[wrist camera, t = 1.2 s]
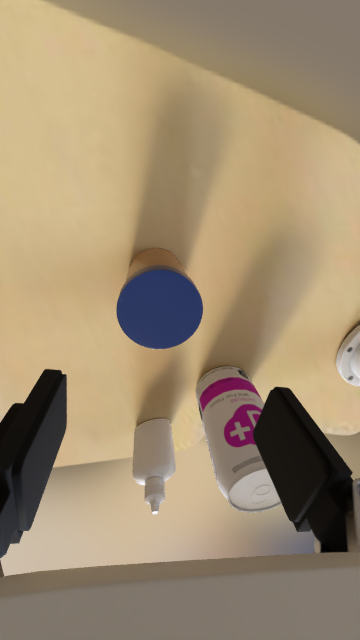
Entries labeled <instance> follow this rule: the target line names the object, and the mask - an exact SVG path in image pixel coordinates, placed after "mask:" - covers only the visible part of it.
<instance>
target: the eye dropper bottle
mask: <svg viewBox="0 0 360 640" xmlns="http://www.w3.org/2000/svg"><path fill="white" fill-rule="evenodd" d="M174 473H175V455H174V445H173V436H172V427H171V424H170V422H169V420H168V419H164V418H161V419H153V420H149V421H146V422H144V423H142V424H140V425H138V426H137V427H136V428H135V432H134V450H133V477H134V479H135V481H136V482H137V483H138V484H141V485H145V502H146V503H147V504H149V505H151V509H152V514H158V511H159V504H161V503H162V502H163V501H164V500H165V489H164V482H165V481H166V480H167V479H169V478H170V477H171V476H172V475H173V474H174Z"/></svg>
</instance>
